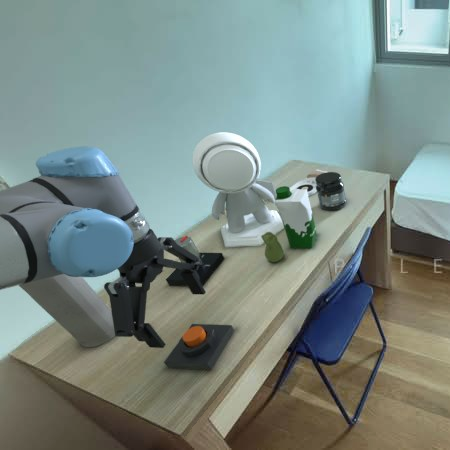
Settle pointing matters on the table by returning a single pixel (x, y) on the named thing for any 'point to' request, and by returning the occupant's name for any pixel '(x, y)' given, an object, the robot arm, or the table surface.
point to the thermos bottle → (74, 308)
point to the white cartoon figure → (236, 188)
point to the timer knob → (189, 248)
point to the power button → (194, 336)
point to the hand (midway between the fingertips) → (180, 317)
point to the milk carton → (296, 216)
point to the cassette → (267, 186)
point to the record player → (308, 182)
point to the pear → (272, 247)
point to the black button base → (201, 349)
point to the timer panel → (204, 272)
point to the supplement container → (330, 191)
